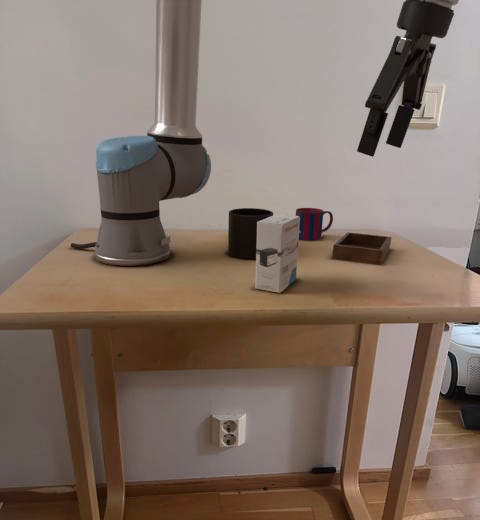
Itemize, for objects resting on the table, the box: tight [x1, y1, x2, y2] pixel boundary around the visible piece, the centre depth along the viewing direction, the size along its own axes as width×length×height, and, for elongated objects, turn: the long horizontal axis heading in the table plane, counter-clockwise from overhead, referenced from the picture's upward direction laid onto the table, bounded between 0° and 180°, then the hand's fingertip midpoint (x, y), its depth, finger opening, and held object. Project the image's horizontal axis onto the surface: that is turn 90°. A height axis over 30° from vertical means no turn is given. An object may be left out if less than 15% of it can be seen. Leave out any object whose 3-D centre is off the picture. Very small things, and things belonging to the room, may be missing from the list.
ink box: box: [254, 214, 300, 294], centre depth 84 cm, size 8×5×12 cm, turn 154°
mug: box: [227, 207, 274, 260], centre depth 104 cm, size 9×12×9 cm
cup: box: [295, 207, 334, 241], centre depth 121 cm, size 7×10×7 cm
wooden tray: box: [331, 231, 392, 266], centre depth 107 cm, size 10×14×3 cm
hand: (379, 149), depth 83 cm, fingers open, 13 cm apart
